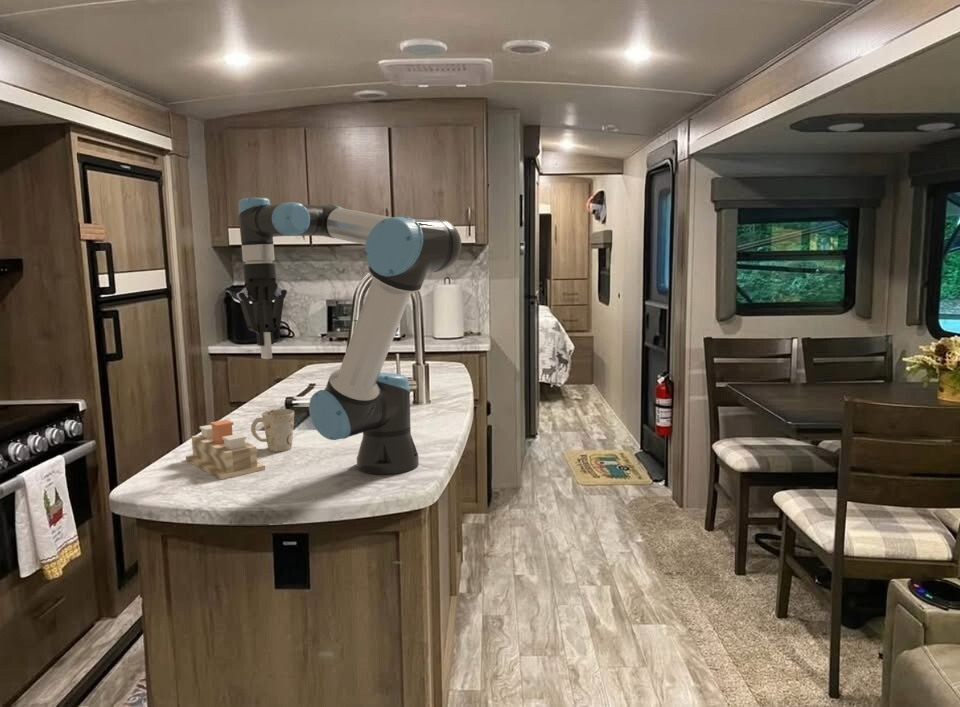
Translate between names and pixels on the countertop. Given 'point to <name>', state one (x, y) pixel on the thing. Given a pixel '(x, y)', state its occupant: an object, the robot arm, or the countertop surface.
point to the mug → (276, 429)
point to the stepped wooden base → (223, 458)
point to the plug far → (206, 431)
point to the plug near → (234, 441)
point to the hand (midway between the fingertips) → (266, 358)
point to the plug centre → (221, 430)
